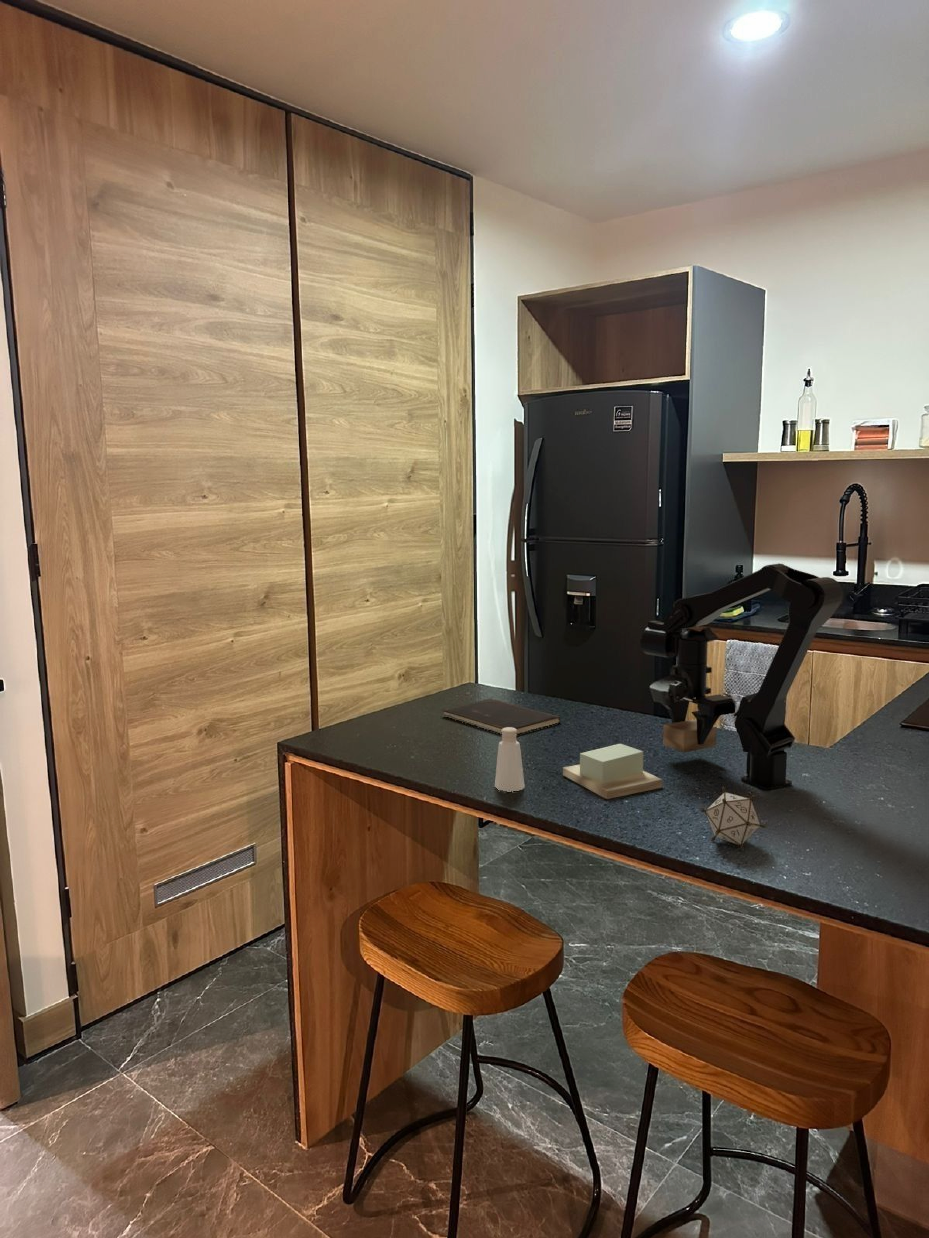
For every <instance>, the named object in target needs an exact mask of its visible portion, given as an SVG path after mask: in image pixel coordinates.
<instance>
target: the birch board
mask: <svg viewBox="0 0 929 1238" xmlns="http://www.w3.org/2000/svg"><path fill="white" fill-rule="evenodd" d="M562 776H564V777H566V778H567V779H569V780H571V781H573V782H574V783H576V784H578V785H580V786H581V787H584V788H586V789H587V790H589V791H591V792H592V793H595V794H596V795H598V796H600V797H602V798H604V799H606V800H609V799H613V798H614V799H615V798H618V797H624V796H628V795H632V794H638V793H643V792H646V791H652V790H656V789H661V788H663V779H662V778H660V777H658V776H655V775H653V774H652V773H649V772H647V771H645V770H643V773H639V774H636V775H632V776H628V777H625V778H621V779H618V780H614V781H610V782H607V783H603V784H602V783H600V782H597V781H595V780H592V779H590V778H587V777H585V776H582V775H580V763H579V764H575V765H570V766H564V767H562Z"/></svg>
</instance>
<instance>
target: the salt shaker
mask: <svg viewBox="0 0 929 1238" xmlns="http://www.w3.org/2000/svg"><path fill="white" fill-rule="evenodd" d="M501 732H502V735H501V738H502V739H501V741H499V742H498V747H497V757H496V758H497V759H496V768H495V769H496V770H495V781H494V787H496V788H497V789H498V790H503V791H507V792H511V791H512V793H514V792H513V791H519V790H521V791H522V790H524V789H525V779H524V778H525V776H524V769H523V760H522V752H521V745H520V742H519V741H517V736H518V735H517V734H516V733H517V729H515V728H512V727H506V728H503V729H502V730H501ZM496 788H495V789H496ZM497 789H496V790H497ZM498 790H497V791H498Z"/></svg>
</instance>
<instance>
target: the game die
mask: <svg viewBox="0 0 929 1238" xmlns="http://www.w3.org/2000/svg"><path fill="white" fill-rule="evenodd" d="M726 789H727V788H725V787H724V786H722V788H721V791H722V793H721V794H720V795H719V796H718V797H717V798H716V799H715V800H714V801H713V802H712V803H711V804H710V805H709V806H708V807H707V808H706V809H705V808H700V809H698V810H699V811H700V812H701V813H705V815H706V818H707V821H708V824H709V827H710V829H711V833H712V834H713V836H712V837H711V841H710V842H715V841H716V839H718V840H721V841H725V842H728V843H731V844H735V845H738V846H739V849H740V850H741V851H742V850H743V851H744V849H745V848H744V846H743V845H744V843H745V842H747V840H748V839H750V838H751V837H752V836H753V834H755V832H756V831H757V830H759V828H761V829H765V828H767V826H766V825H765V824H764V823H763V824H761V822H760V819H759V816H758V814H757V811H756V807H755V806H754V803H753V800H754V799H755V795H756V794H753V795H752V794H751V795H750V797H746V796H743V795H740V794H739V795H738V794H735V793H731V792H727V791H726Z"/></svg>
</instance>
